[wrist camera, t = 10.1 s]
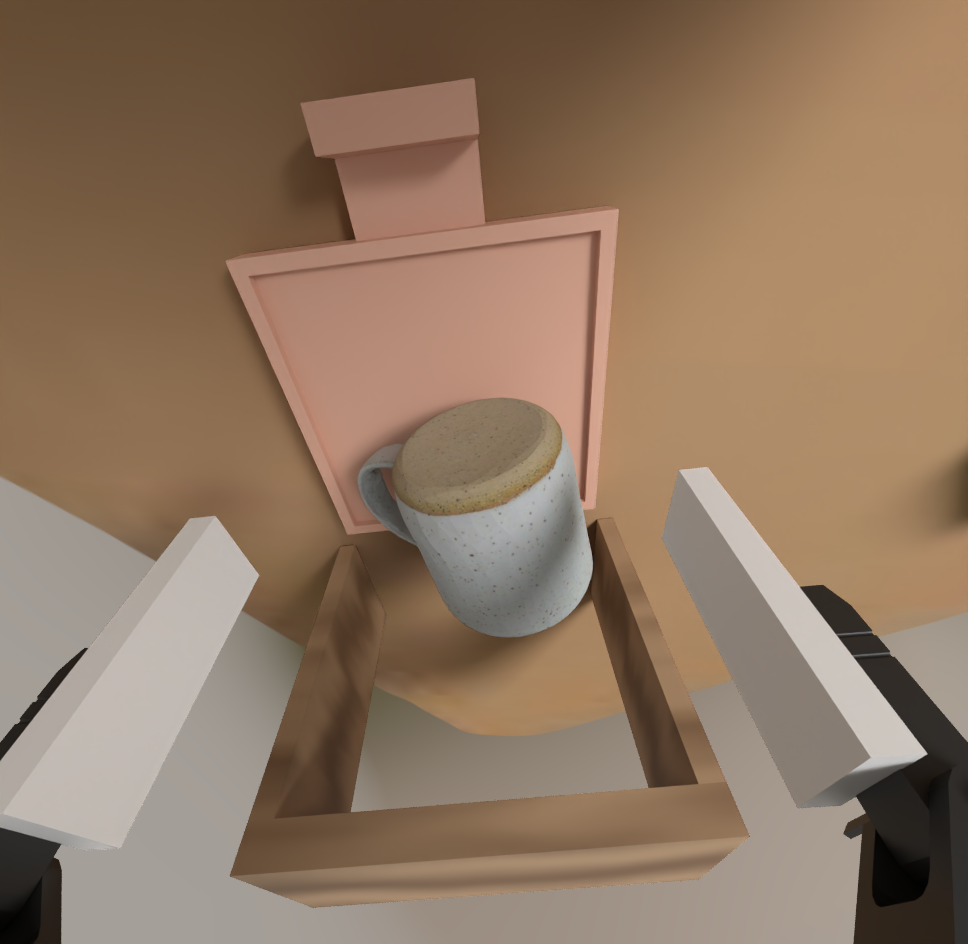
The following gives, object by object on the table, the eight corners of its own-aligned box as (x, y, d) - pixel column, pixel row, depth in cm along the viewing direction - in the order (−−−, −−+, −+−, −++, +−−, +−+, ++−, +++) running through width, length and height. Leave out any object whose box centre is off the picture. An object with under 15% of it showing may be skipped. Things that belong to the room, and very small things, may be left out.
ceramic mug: (552, 367, 17) (585, 492, 11) (578, 499, 22) (609, 631, 16) (333, 424, 19) (263, 554, 13) (402, 532, 24) (375, 660, 18)
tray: (194, 135, 14) (137, 126, 11) (614, 74, 13) (647, 52, 11) (353, 516, 25) (342, 552, 22) (588, 490, 24) (601, 525, 22)
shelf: (340, 546, 26) (229, 876, 14) (612, 517, 26) (750, 836, 13) (373, 616, 31) (312, 907, 19) (604, 593, 31) (698, 879, 18)
